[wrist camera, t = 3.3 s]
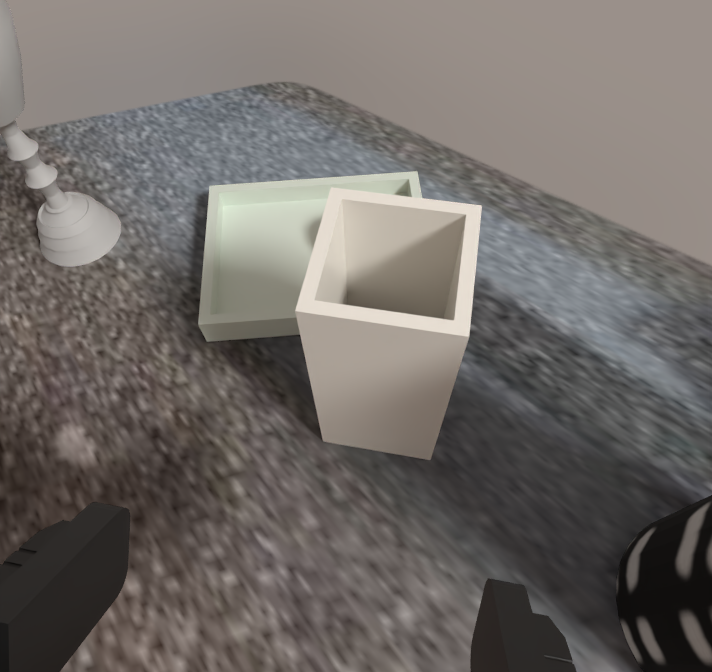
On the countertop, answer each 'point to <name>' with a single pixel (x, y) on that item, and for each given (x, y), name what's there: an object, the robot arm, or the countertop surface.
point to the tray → (269, 250)
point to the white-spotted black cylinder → (669, 592)
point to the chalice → (49, 174)
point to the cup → (387, 317)
